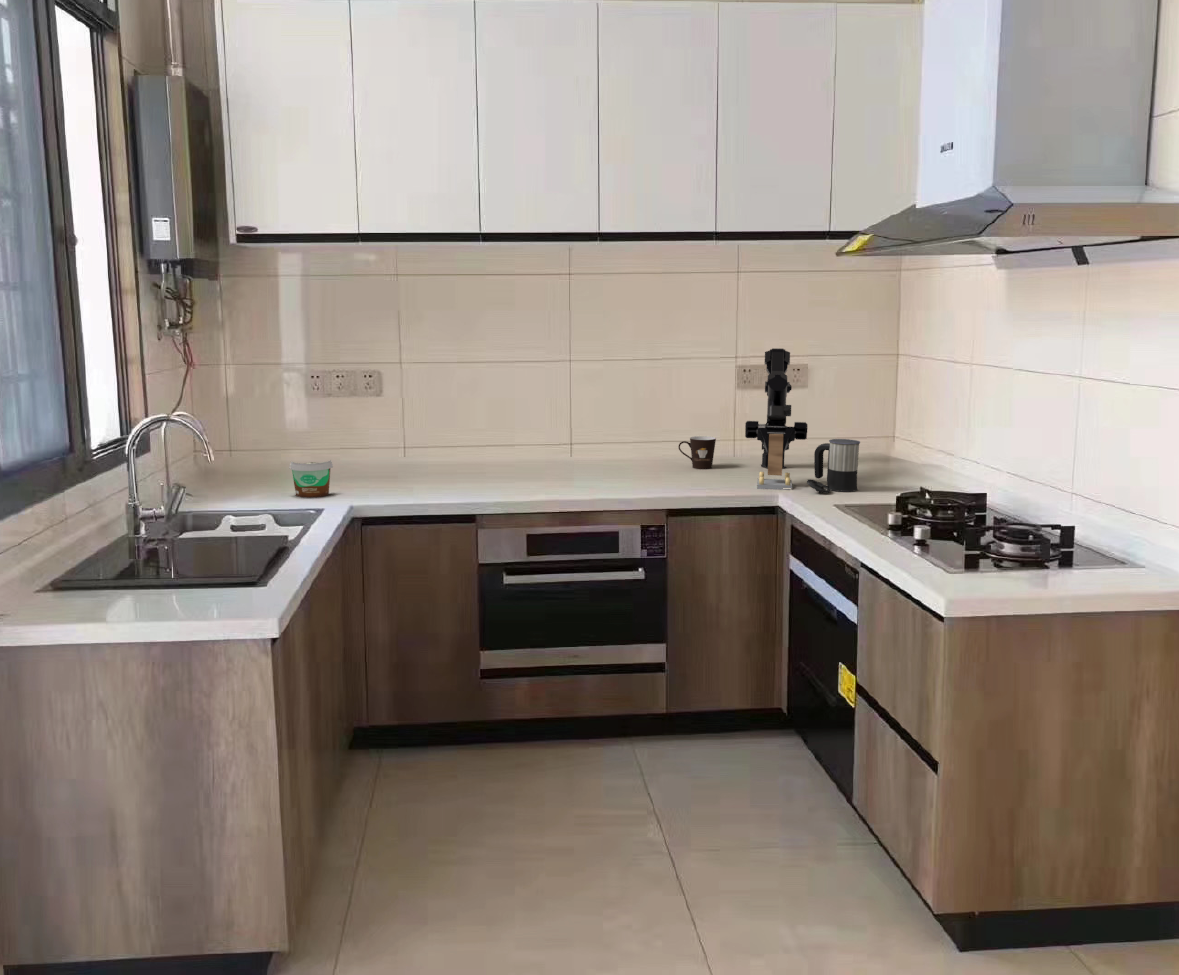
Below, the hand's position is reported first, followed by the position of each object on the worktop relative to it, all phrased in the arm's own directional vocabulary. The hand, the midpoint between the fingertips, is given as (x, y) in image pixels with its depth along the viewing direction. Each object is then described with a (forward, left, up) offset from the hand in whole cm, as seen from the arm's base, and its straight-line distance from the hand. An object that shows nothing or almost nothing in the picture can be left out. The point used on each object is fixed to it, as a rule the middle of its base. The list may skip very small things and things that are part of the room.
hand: (775, 452), depth 340 cm
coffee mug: (+7, -39, -11) cm, 41 cm away
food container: (+134, -28, -11) cm, 138 cm away
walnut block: (-1, -1, -7) cm, 7 cm away
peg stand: (-1, -1, -11) cm, 11 cm away
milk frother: (-13, +11, -11) cm, 21 cm away
